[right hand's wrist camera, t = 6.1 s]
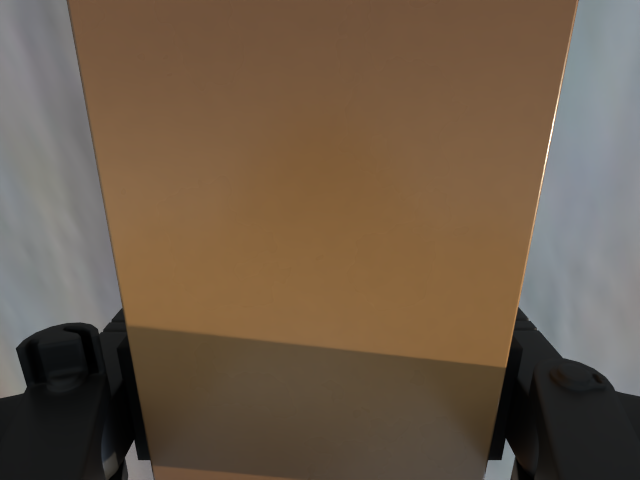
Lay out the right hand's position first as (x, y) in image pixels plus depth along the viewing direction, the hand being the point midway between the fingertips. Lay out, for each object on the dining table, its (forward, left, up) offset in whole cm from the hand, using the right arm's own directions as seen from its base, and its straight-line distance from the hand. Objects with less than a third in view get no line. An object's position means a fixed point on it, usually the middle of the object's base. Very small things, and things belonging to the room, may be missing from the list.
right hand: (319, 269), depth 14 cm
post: (+12, +21, -1) cm, 24 cm away
